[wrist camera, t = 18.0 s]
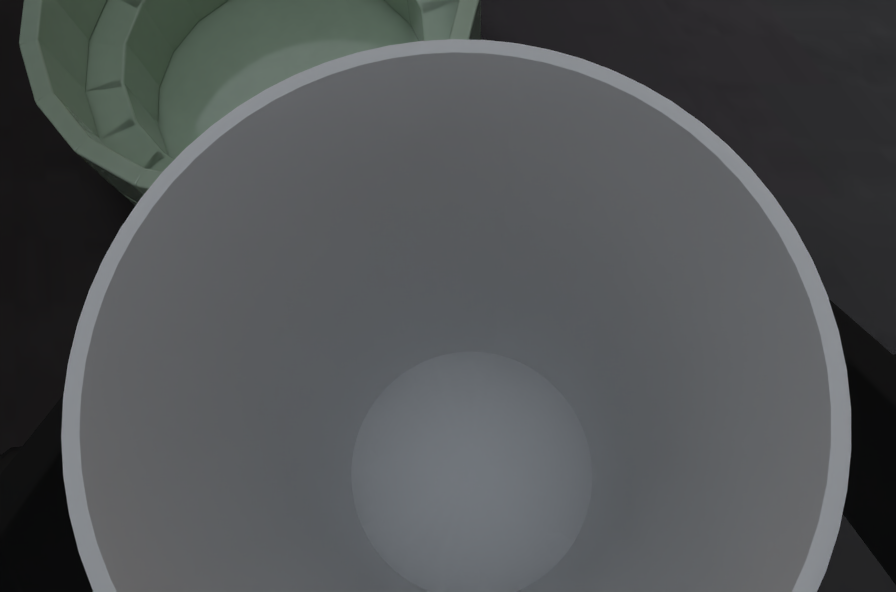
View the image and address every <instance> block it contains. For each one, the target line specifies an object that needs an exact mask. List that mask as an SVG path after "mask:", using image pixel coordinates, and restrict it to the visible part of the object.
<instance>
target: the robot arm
mask: <svg viewBox="0 0 896 592" xmlns="http://www.w3.org/2000/svg"><path fill="white" fill-rule="evenodd" d="M829 302H830V305H831V308H832V311H833V315H834V318H835V321H836V324H837V327H838V330H839V335H840V339H841V344H842V349H843V354H844V358H845V363H846V368H847V376H848V385H849V394H850V404H851V457H850V467H849V478H848V488H847V494H846V499H845V504H844V508H843V514H844V516H845V517H846V518H847V520H848V521H849V522H850V524H851V525H852V526H853V528H854V529H855V530H856V532H857V533H858V534H859V536H860V537H861V538H862V540H863V541H864V543H865V544H866V545H867V547H868V548H869V549H870V551H871V552H872V553H873V555H874V556H875V557H876V559H877V560H878V561H879V563H880V564H881V566H882V567H883V568H884V570H885V571H886V572H887V574H888V575H889V576H890V578H891V579H892V580H893V582H894V583H895V584H896V354H895V355H892V354H891V353H890V352H889V351H888V350H887V349H886V348H884V347H883V346H882V345H881V344H880V343H879V342H878V341H876V340H875V339H874V338H873V337H872V336H871V335H870V334H868V333H867V332H866V331H865V330H864V329H863V328H861V327H860V326H859V325H858V324H857V323H856V322H855V321H853V320H852V319H851V318H850V317H849V316H848V315H847V314H845V313H844V312H843V311H842V310H841V309H840V308H839V307H837V306H836V305H835V304H834V303H833V302H832V301H831V300H829ZM62 409H63V396H62V398H61V399H60V400H59V401H58V403H57V404H56V405H55V406H54V408H53V409H52V410H51V411H50V413H49V414H48V415H47V416H46V418H45V419H44V420H43V421H42V423H41V424H40V425H39V426H38V428H37V429H36V430H35V432H34V433H33V434H32V435H31V437H30V438H29V439H28V440H27V442H26V443H25V444H24V445H23V447H13V448H10V449H9V450H7V451H6V452H5V453H3V454H2V455H1V456H0V592H93V590H92V587H91V584H90V582H89V579H88V576H87V574H86V571H85V568H84V565H83V563H82V560H81V557H80V555H79V551H78V547H77V544H76V540H75V536H74V532H73V528H72V524H71V520H70V516H69V511H68V504H67V498H66V491H65V484H64V478H63V463H62V443H61V430H62Z"/></svg>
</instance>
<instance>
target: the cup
mask: <svg viewBox="0 0 896 592" xmlns="http://www.w3.org/2000/svg"><path fill="white" fill-rule="evenodd" d="M61 443H62V463H63V478H64V484H65V491H66V498H67V504H68V511H69V516H70V520H71V524H72V528H73V532H74V536H75V540H76V544H77V547H78V551H79V555H80V557H81V560H82V563H83V565H84V568H85V571H86V574H87V576H88V579H89V582H90V584H91V587H92V590H93V592H817V591H818V588H819V586H820V584H821V581H822V579H823V577H824V575H825V572H826V570H827V567H828V563H829V560H830V557H831V554H832V551H833V548H834V545H835V541H836V538H837V535H838V532H839V528H840V523H841V518H842V513H843V508H844V504H845V499H846V494H847V488H848V478H849V467H850V457H851V404H850V394H849V385H848V376H847V368H846V363H845V358H844V354H843V349H842V344H841V339H840V335H839V330H838V327H837V324H836V321H835V318H834V315H833V311H832V308H831V305H830V302H829V299H828V296H827V293H826V291H825V288H824V286H823V284H822V281H821V279H820V277H819V274H818V272H817V270H816V267H815V265H814V262H813V260H812V258H811V256H810V255H809V253H808V251H807V249H806V247H805V245H804V244H803V242H802V240H801V238H800V236H799V234H798V233H797V231H796V229H795V227H794V226H793V224H792V223H791V221H790V220H789V218H788V217H787V215H786V214H785V212H784V211H783V209H782V208H781V206H780V205H779V203H778V202H777V200H776V199H775V197H774V196H773V195H772V194H771V193H770V191H769V190H768V189H767V188H766V186H765V185H764V184H763V183H762V181H761V180H760V179H759V178H758V177H757V175H756V174H755V173H754V172H753V170H752V169H751V168H750V167H749V166H748V165H747V164H746V163H745V162H744V161H743V160H742V159H741V158H740V157H739V156H738V155H737V154H736V153H735V152H734V151H733V150H732V149H731V148H730V147H729V146H728V145H727V144H726V143H725V142H724V141H722V140H721V139H720V138H719V137H718V136H717V135H715V134H714V133H713V132H712V131H711V130H710V129H708V128H707V127H706V126H705V125H704V124H703V123H701V122H700V121H699V120H697V119H696V118H694V117H693V116H692V115H690V114H689V113H687V112H686V111H685V110H683V109H682V108H680V107H679V106H678V105H676V104H675V103H673V102H672V101H670V100H668V99H667V98H665V97H663V96H662V95H660V94H658V93H656V92H655V91H653V90H651V89H650V88H648V87H646V86H645V85H643V84H640V83H638V82H636V81H634V80H632V79H630V78H628V77H626V76H624V75H622V74H620V73H617V72H615V71H613V70H611V69H608V68H605V67H603V66H600V65H597V64H595V63H592V62H589V61H587V60H584V59H581V58H577V57H574V56H570V55H567V54H563V53H560V52H556V51H553V50H549V49H543V48H538V47H533V46H528V45H523V44H517V43H508V42H499V41H490V40H465V39H447V40H429V41H417V42H410V43H403V44H395V45H388V46H384V47H379V48H375V49H370V50H366V51H361V52H357V53H354V54H350V55H347V56H344V57H341V58H338V59H334V60H331V61H328V62H325V63H322V64H320V65H318V66H315V67H313V68H310V69H308V70H305V71H303V72H300V73H298V74H295V75H293V76H291V77H289V78H287V79H285V80H283V81H281V82H279V83H277V84H275V85H273V86H271V87H269V88H267V89H265V90H264V91H262V92H261V93H259V94H257V95H256V96H254V97H252V98H251V99H249V100H248V101H246V102H244V103H243V104H241V105H239V106H238V107H236V108H235V109H234V110H232V111H231V112H230V113H228V114H227V115H225V116H224V117H223V118H221V119H220V120H219V121H217V122H216V123H214V124H213V125H212V126H210V127H209V128H208V129H207V130H206V131H205V132H204V133H202V134H201V135H200V136H199V137H198V138H197V139H196V140H194V141H193V142H192V143H191V144H190V145H189V146H187V147H186V148H185V149H184V150H183V151H182V152H181V153H180V154H179V155H178V156H177V157H176V159H175V160H174V161H173V162H172V163H171V164H170V165H169V166H168V167H167V168H166V169H165V170H164V171H163V172H162V173H161V174H160V175H159V177H158V178H157V179H156V180H155V182H154V183H153V184H152V185H151V186H150V188H149V189H148V190H147V191H146V193H145V194H144V195H143V196H142V198H141V199H140V200H139V202H138V203H137V205H136V206H135V207H134V209H133V210H132V212H131V213H130V215H129V216H128V218H127V219H126V221H125V222H124V224H123V225H122V227H121V228H120V230H119V232H118V233H117V235H116V237H115V239H114V241H113V242H112V244H111V246H110V248H109V250H108V251H107V253H106V255H105V257H104V258H103V261H102V263H101V265H100V267H99V270H98V272H97V274H96V276H95V279H94V281H93V283H92V285H91V287H90V290H89V292H88V295H87V298H86V301H85V304H84V307H83V310H82V313H81V316H80V318H79V321H78V324H77V328H76V332H75V336H74V340H73V344H72V349H71V353H70V357H69V361H68V367H67V374H66V381H65V388H64V395H63V409H62V430H61Z"/></svg>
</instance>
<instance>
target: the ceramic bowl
mask: <svg viewBox="0 0 896 592" xmlns="http://www.w3.org/2000/svg"><path fill="white" fill-rule="evenodd" d="M447 39H465V40H481V0H24V4H23V13H22V21H21V30H20V38H19V44H20V49H21V53H22V57H23V60H24V64H25V67H26V71H27V74H28V78H29V82H30V85H31V89H32V92H33V96H34V99H35V102H36V104H37V106H38V107H39V108H40V109H41V111H42V112H43V113H44V114H45V116H46V117H47V118H48V119H49V121H50V122H51V123H52V124H53V126H54V127H55V128H56V129H57V131H58V132H59V133H60V134H61V136H62V137H63V138H64V139H65V141H66V142H67V143H68V144H69V146H70V147H71V148H72V149H73V151H74V152H76V153H77V154H78V155H79V156H80V157H81V158H82V159H83V160H84V161H86V162H87V163H88V164H89V165H90V166H91V167H92V168H93V169H94V170H96V171H97V172H98V173H99V174H100V175H101V176H102V177H103V178H104V179H106V180H107V181H108V182H109V183H110V184H111V185H112V186H113V187H114V188H116V189H117V190H118V191H119V192H120V193H121V194H122V195H123V196H125V197H126V198H127V199H128V200H129V201H130V202H131V203H132V204H134V205H135V206H136V205H137V203H138V202H139V200H140V199H141V198H142V196H143V195H144V194H145V193H146V191H147V190H148V189H149V188H150V186H151V185H152V184H153V183H154V182H155V180H156V179H157V178H158V177H159V175H160V174H161V173H162V172H163V171H164V170H165V169H166V168H167V167H168V166H169V165H170V164H171V163H172V162H173V161H174V160H175V159H176V157H177V156H178V155H179V154H180V153H181V152H182V151H183V150H184V149H185V148H186V147H187V146H189V145H190V144H191V143H192V142H193V141H194V140H196V139H197V138H198V137H199V136H200V135H201V134H202V133H204V132H205V131H206V130H207V129H208V128H209V127H210V126H212V125H213V124H214V123H216V122H217V121H219V120H220V119H221V118H223V117H224V116H225V115H227V114H228V113H230V112H231V111H232V110H234V109H235V108H236V107H238V106H239V105H241V104H243V103H244V102H246V101H248V100H249V99H251V98H252V97H254V96H256V95H257V94H259V93H261V92H262V91H264V90H265V89H267V88H269V87H271V86H273V85H275V84H277V83H279V82H281V81H283V80H285V79H287V78H289V77H291V76H293V75H295V74H298V73H300V72H303V71H305V70H308V69H310V68H313V67H315V66H318V65H320V64H322V63H325V62H328V61H331V60H334V59H338V58H341V57H344V56H347V55H350V54H354V53H357V52H361V51H366V50H370V49H375V48H379V47H384V46H388V45H395V44H403V43H410V42H417V41H429V40H447Z"/></svg>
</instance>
